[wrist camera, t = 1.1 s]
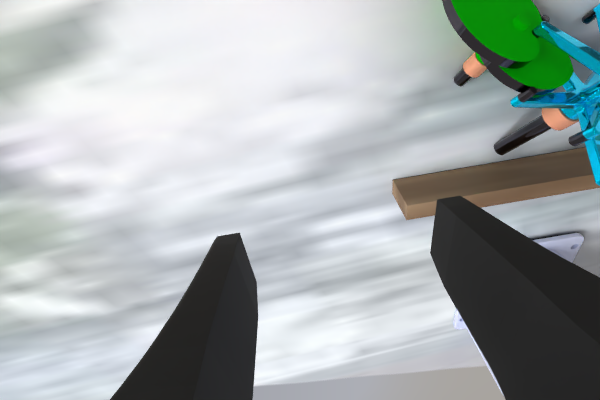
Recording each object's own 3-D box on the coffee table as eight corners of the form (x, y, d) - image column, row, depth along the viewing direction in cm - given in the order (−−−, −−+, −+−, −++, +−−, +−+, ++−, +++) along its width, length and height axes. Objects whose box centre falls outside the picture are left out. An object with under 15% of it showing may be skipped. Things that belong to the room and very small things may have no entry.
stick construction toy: (719, 50, 15) (744, 199, 12) (563, 132, 21) (551, 242, 18) (487, -98, 14) (445, 21, 10) (397, 35, 20) (354, 133, 17)
